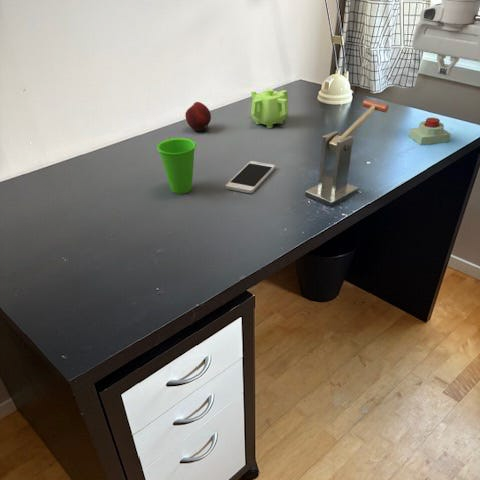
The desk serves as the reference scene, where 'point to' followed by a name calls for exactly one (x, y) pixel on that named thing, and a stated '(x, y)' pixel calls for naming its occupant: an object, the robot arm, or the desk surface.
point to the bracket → (333, 172)
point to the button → (432, 122)
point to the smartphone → (250, 177)
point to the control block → (429, 134)
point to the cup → (178, 163)
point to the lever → (358, 121)
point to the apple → (198, 116)
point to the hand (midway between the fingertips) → (444, 74)
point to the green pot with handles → (269, 107)
